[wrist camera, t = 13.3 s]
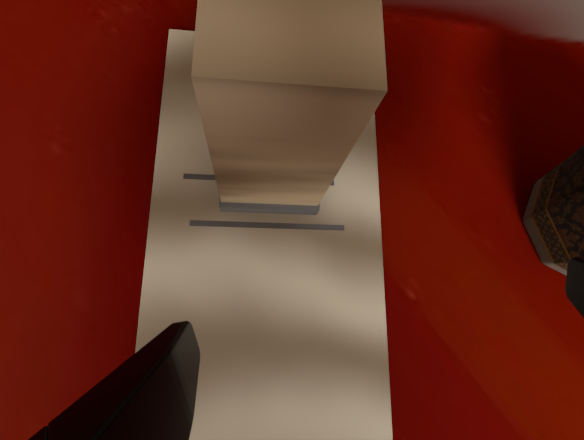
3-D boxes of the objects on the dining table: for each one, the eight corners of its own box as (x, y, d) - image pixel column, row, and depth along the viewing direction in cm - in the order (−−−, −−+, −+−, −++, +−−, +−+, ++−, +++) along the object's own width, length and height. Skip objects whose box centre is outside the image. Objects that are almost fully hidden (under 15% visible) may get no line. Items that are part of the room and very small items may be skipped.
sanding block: (316, 215, 20) (392, 98, 9) (220, 211, 19) (185, 83, 9) (315, 97, 22) (377, -112, 11) (227, 91, 21) (205, -134, 11)
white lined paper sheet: (388, 467, 18) (394, 474, 17) (127, 476, 17) (121, 484, 16) (367, 54, 24) (371, 45, 23) (171, 38, 23) (169, 28, 22)
